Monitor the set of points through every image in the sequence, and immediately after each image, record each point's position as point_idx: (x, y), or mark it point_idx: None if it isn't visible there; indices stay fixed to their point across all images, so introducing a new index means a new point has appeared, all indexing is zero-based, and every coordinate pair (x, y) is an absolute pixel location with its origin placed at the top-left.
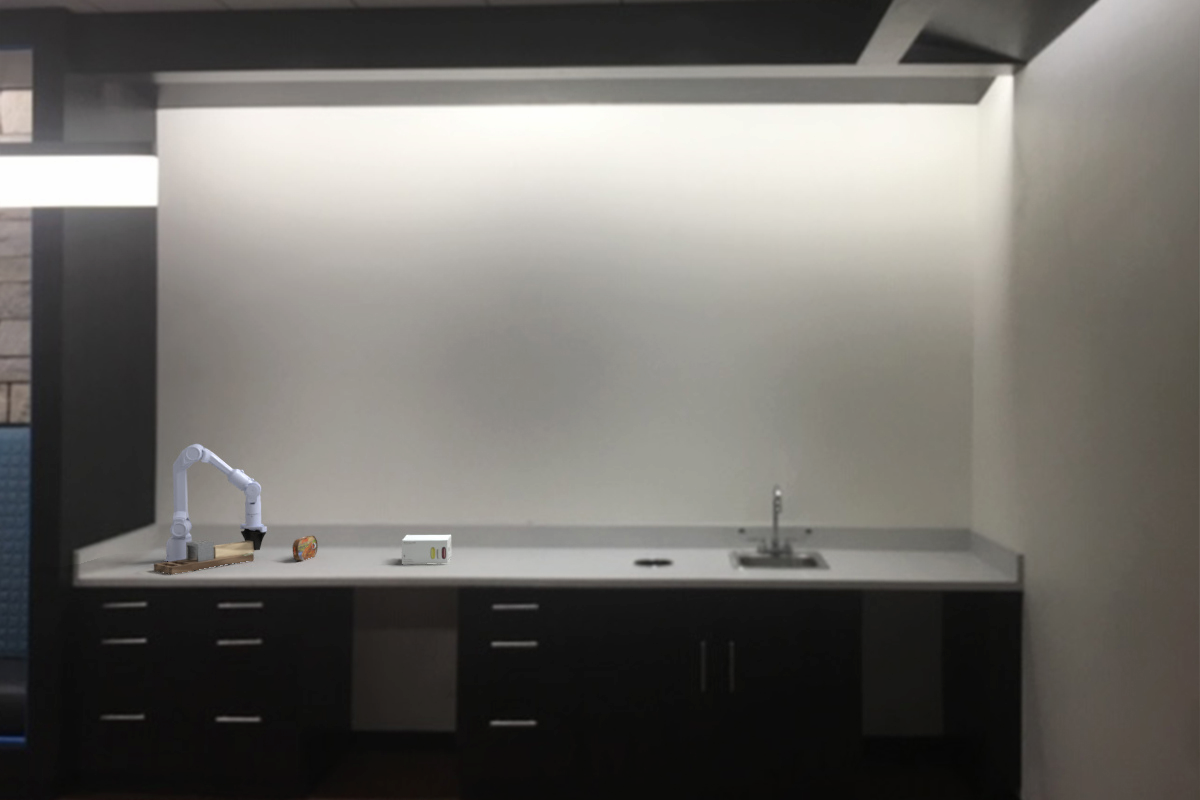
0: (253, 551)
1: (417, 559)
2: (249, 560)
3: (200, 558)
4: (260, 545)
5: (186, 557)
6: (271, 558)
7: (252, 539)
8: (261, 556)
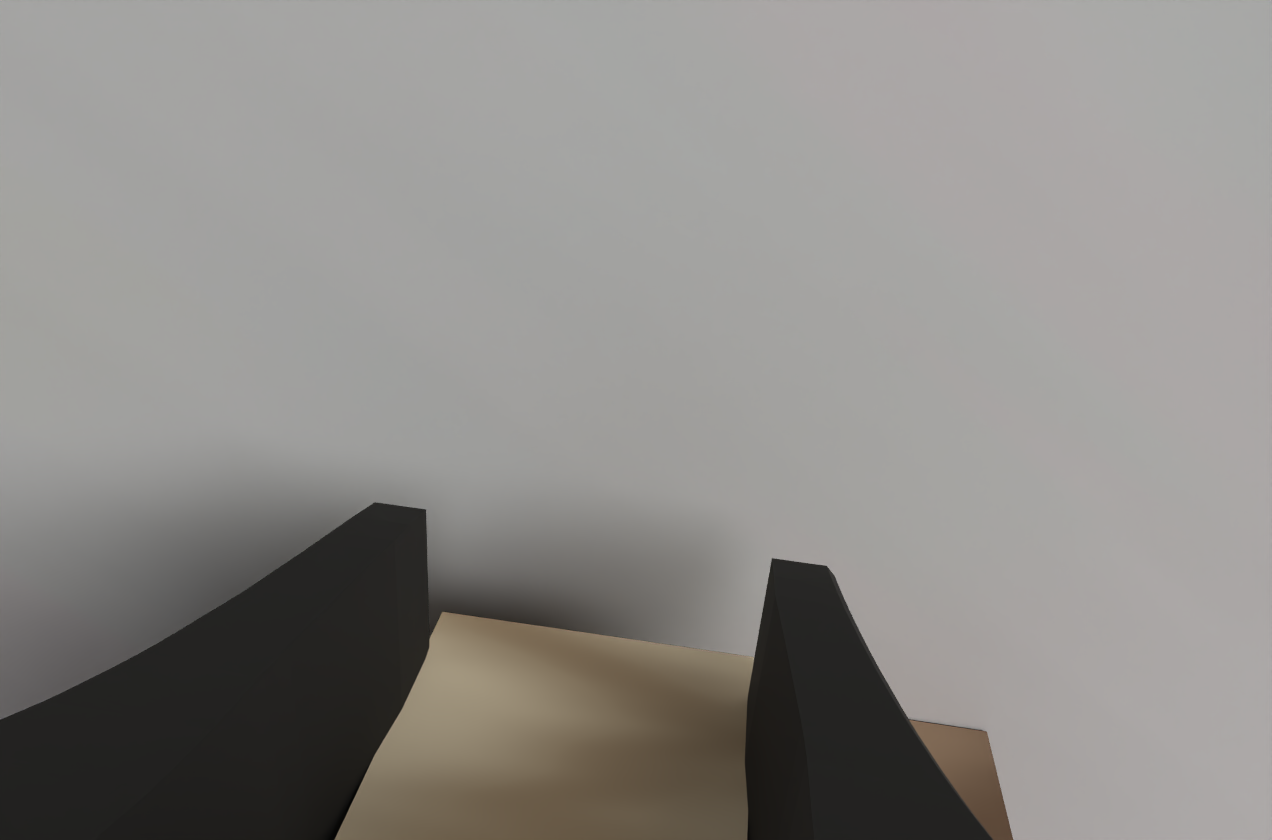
0: None
1: None
2: None
3: None
4: (865, 661)
5: None
6: (1183, 314)
7: (274, 741)
8: (630, 223)
